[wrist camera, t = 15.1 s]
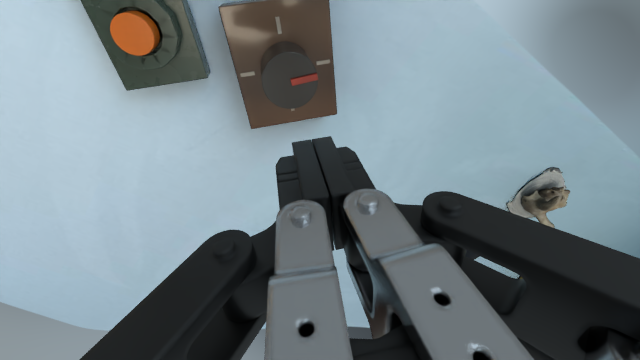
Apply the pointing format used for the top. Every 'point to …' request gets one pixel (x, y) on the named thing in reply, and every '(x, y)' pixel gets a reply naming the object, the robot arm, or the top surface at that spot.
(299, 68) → the dial knob
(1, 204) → the top surface
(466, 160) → the top surface
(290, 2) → the dial base block
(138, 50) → the button
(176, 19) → the button box
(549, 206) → the tan irregular piece
